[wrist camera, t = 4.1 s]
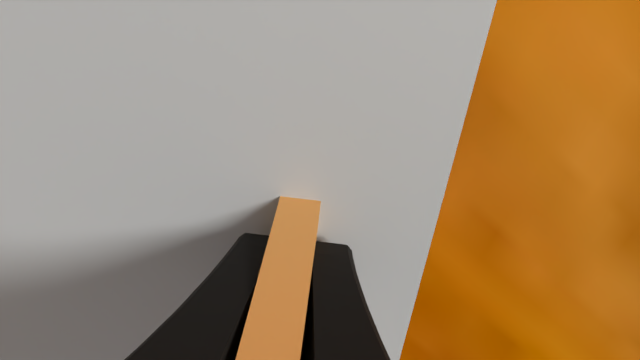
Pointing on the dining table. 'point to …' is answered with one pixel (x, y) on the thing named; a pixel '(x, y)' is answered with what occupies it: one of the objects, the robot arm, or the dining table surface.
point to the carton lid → (220, 159)
